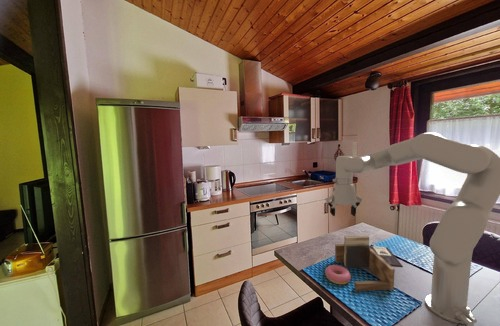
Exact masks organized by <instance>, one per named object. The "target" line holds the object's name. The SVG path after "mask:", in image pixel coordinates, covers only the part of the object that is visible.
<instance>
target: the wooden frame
mask: <svg viewBox="0 0 500 326" xmlns="http://www.w3.org/2000/svg"><path fill="white" fill-rule="evenodd" d="M343 241H344V242H343V243H337V244H336V243H335V246H334V261H335V262H336V263H343V266H344V267H345V268H346V246H363V245H369V246H370V237H369V236H368V235H366V234H365V235H344V240H343ZM368 269H370V271H372V272H373V273H374V274H375V275H376V277H378V279H379V280H364V281H363V280H360V281H359V280H358V281H357V280H355V281H354V283H353V284H354V289H355V291H357V292H360V291H390V290H391V291H393V290H394V289H395V271H396V270H395V268H394V266H390V265H389V264H388V263H387V262H386V261H385V260H384V259H383V258H381V257H380V256H379V255H378V254H377V253H376V252H375V251H374V250H373V249H371V248H370V261H369V268H368Z"/></svg>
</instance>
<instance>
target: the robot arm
mask: <svg viewBox="0 0 500 326" xmlns="http://www.w3.org/2000/svg"><path fill="white" fill-rule="evenodd" d="M420 160H426V161H427V162H431V163H432V164H435V165H438V166H441V167H444V168H446V169H449V170H452V171H455V172H457V173H461V174H466V178H465V180H464V182H463V184H462V185H461V187H460V190H459V192H458V194H457V196H456V198H455V199H454V201H453V202H452V203H450V205H449V206H448V207H447V208H446V210H445V211H444V213H443V215H442V217H441V218H440V221H439V222H438V224H437V226H436V228H435V230H434V232H433V234H432V236H431V237H430V240H429V248H430V251H431V252H432V254H433V264H432V277H431V291H430V294H429V295H426V297H425V298H424V299H425V301H424V302H425V303H424V304H425V305H426V306H427V308H428V309H429V310H430V311H431V312H433V313H434V314H435V315H436V316H438V317H440V318H442V319H444V320H446V321H448V322H453V323H456V324H459V323H462V324H461V325H466V326H474V325H475V324H476V323H477V322H478V320H477V319H476V318H475V317H474V316H473V314H472V312H471V308H470V307H468V300H469V299H468V297H469V289H470V288H469V287H470V276H471V266H472V258H473V253H474V252H473V251H474V249H475V247H476V246H477V244H478V243H479V240H480V239H482V236H483V234H484V233H485V231H486V228H487V227H488V223H489V219H490V214H491V212H492V211H493V209H494V207H495V205H496V203H498V199H499V198H500V156H499V155H498V154H497V153H495V152H494V151H493V150H492V149H489V148H488V147H486V146H484V145H480V144H467V143H464V142H459V141H456V140H454V139H449V138H447V137H445V136H443V135H442V134H440V133H437V132H424V133H420V134H418V135H416V136H415V137H412V138H409V139H406V140H403V141H399V142H396V143H393V144H391V145H388V146H387V147H386V148H384V149H382V150H379V151H376V152H372V153H369V154H366V155H360V156H353V157H352V156H351V155H339V156H337V157H336V160H335V162H336V163H335V177H334V178H332V182H333V183H334V184H333V186H332V187H333V188H332V193H331V194H332V195H330V196H328V197H326V198H325V199H324V200H325V202H326V204H327V205H328V206H329V207H330V214H331V216H332V217H335V216H336V208H335V207H336V206H351V207H350V215H352V216H353V217H355V216H356V214H357V209H358V207H359V206H360V204H361V203H362V201H363V198H361V197H359V196H357V193H356V186H355V184H354V183H353V181H354V180H353V179H354V178H353V177H354V174H357V175H358V174H359V175H360V174H363V173H367V172H370V171H374V170H377V169H381V168H382V169H383V168H385V167H390V166H400V165H405V164H408V163H411V162H416V161H420ZM330 201H331V202H330Z"/></svg>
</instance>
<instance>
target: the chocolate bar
mask: <svg viewBox="0 0 500 326" xmlns="http://www.w3.org/2000/svg"><path fill="white" fill-rule="evenodd" d="M369 246H370V248H371V249H373V250H374V251H375V252H376V253H377V254H378V255H379V256H380V257H381V258H383V259H384V260H385V261H386V262H387V263H388V264H389V265H390V266H392V267H398V268H399V267H401V268H403V267H404V266H403V264H402V263H401V262H400V261H399V260H398V259H397V257H396V256H395V255H394V254H393V252H392V251H391V249H390V248H389V247H386V246H377V245H376V246H374V245H369Z"/></svg>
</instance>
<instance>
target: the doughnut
mask: <svg viewBox="0 0 500 326" xmlns="http://www.w3.org/2000/svg"><path fill="white" fill-rule="evenodd" d="M324 274H325V276H326V278H327V280H329V281H330V282H332V283H333V284H336V285H347V284H348V283H350V281H351V280H352V279H351V278H352V275H351V273H350V271H349V269H348V268H346V267H345V266H342V265H338V264H332V265H331V264H330V265H328V266H327V267H326V268H325V271H324Z"/></svg>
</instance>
